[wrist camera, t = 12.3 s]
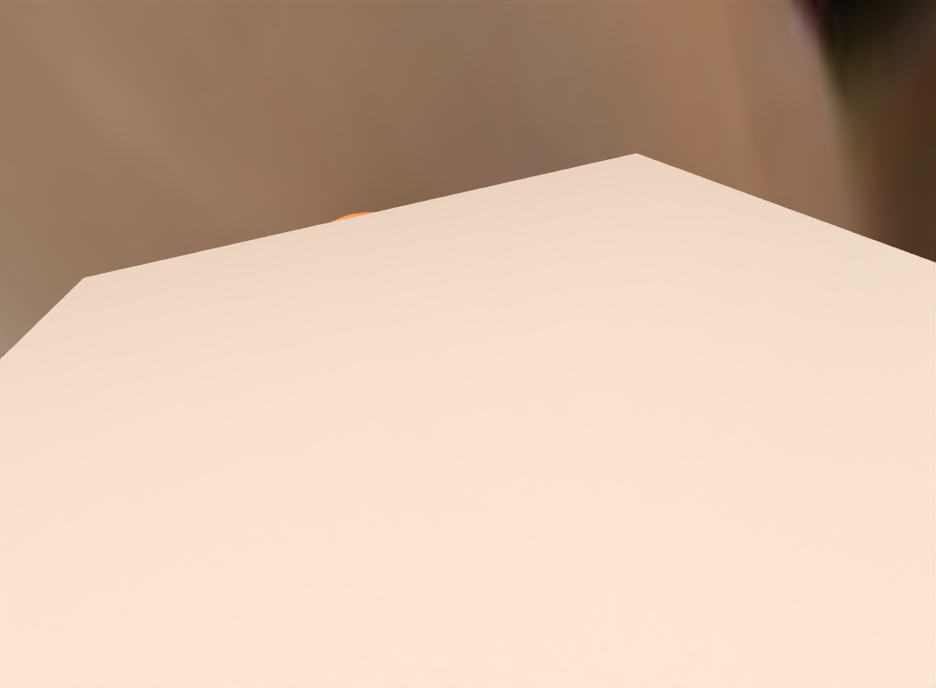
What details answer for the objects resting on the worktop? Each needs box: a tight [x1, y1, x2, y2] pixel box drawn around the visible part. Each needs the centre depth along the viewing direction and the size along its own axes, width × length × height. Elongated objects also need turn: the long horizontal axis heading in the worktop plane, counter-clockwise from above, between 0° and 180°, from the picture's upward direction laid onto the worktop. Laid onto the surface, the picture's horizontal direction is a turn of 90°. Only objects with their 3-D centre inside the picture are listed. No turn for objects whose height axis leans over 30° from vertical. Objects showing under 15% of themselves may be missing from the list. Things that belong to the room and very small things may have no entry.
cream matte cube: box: [0, 154, 936, 688], centre depth 7 cm, size 8×8×9 cm
